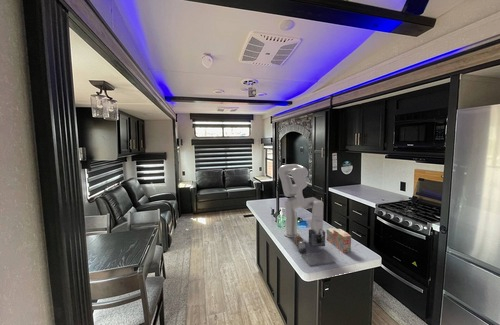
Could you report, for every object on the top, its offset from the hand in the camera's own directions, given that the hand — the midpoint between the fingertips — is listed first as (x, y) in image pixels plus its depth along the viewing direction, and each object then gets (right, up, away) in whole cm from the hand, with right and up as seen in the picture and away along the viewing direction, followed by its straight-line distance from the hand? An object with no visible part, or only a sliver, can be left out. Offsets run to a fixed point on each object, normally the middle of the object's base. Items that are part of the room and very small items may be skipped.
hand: (316, 240), depth 159 cm
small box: (0, -3, 0) cm, 3 cm away
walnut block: (-11, -6, +9) cm, 16 cm away
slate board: (-3, -8, -13) cm, 16 cm away
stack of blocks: (+18, -6, +6) cm, 20 cm away
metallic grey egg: (-11, -7, -2) cm, 13 cm away
